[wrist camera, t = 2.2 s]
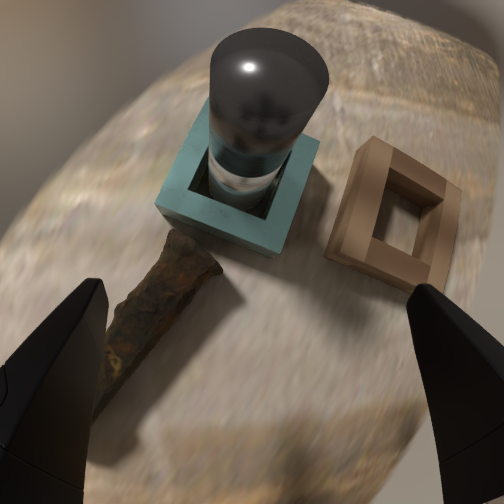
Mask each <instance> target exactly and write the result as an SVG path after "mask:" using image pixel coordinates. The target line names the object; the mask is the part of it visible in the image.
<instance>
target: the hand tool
mask: <svg viewBox="0 0 504 504" xmlns="http://www.w3.org/2000/svg"><path fill="white" fill-rule="evenodd" d="M220 274H223V269H222V267H221V266H220V264H219V263H218V262H217V261H216V260H215V259H214V257H213V256H212V255H211V254H210V253H209V252H208V251H207V250H206V249H204V248H203V247H202V246H201V245H200V244H198V243H197V242H196V241H195V240H194V239H192V238H190V237H188V236H187V235H185V234H184V233H181V232H178V231H177V230H175V229H171V230H169V233H168V236H167V240H166V243H165V245H164V249H163V251H162V253H161V255H160V258H159V260H158V261H157V262H156V264H155V265H154V266H153V267H152V268H151V270H150V271H149V272H148V273H147V275H146V276H145V278H144V279H143V280H142V281H141V282H140V283H139V284H138V286H137V287H136V288H135V289H134V290H133V291H131V292H130V293H129V294H128V296H127V299H126V300H124V301H123V302H121V303H119V304H118V305H117V306H116V308H115V310H114V319H113V321H112V323H111V325H110V326H109V328H108V329H107V331H106V332H105V341H104V351H103V358H102V364H101V369H100V374H99V379H98V385H97V390H96V396H95V401H94V407H93V414H92V420H91V426H92V425H93V423H94V422H95V420H96V419H97V418H98V416H99V414H100V413H101V412H102V410H103V409H104V408H105V407H106V405H107V404H108V403H109V402H110V400H111V399H112V398H113V397H114V395H115V394H116V393H117V392H118V390H119V389H120V388H121V387H122V385H123V384H124V383H125V382H126V381H127V380H128V378H129V377H130V376H131V375H132V373H133V372H134V371H135V370H136V368H137V367H138V366H139V365H140V363H141V362H142V361H143V360H144V359H145V357H146V356H147V355H148V353H149V352H150V351H151V350H152V348H153V347H154V346H155V345H156V343H157V342H158V341H159V340H160V338H161V337H162V336H163V335H164V334H165V333H166V332H167V331H168V329H169V328H170V327H171V325H172V324H173V323H174V321H175V320H176V318H177V317H178V316H179V315H180V314H181V312H182V311H183V310H184V309H185V307H186V306H188V304H189V303H190V302H191V301H192V299H193V297H194V296H195V294H196V293H197V292H198V290H199V289H200V288H201V286H202V285H203V284H204V283H205V282H206V280H207V279H209V278H210V277H211V276H213V275H220Z"/></svg>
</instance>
